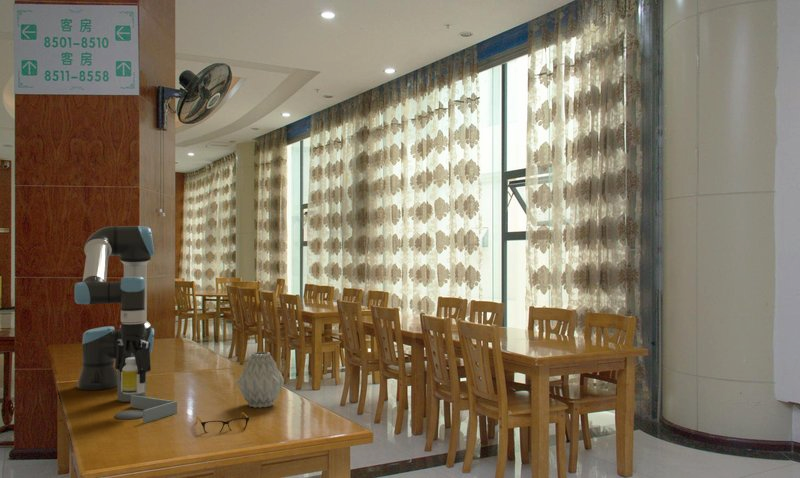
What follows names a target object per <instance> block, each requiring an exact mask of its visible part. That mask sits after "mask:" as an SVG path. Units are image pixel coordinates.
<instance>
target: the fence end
mask: <svg viewBox="0 0 800 478" xmlns="http://www.w3.org/2000/svg"><path fill="white" fill-rule="evenodd" d="M142 410H143V418H142V423H143V424H147V423H150V422H154V421H156V420H159V419H163V418H166V417H169V416H173V415H176V414H178V401H177V400H176V401H175V400H174V401H173V402H170V403H167V404H163V405H160V406H157V407H153V408H150V409H142Z"/></svg>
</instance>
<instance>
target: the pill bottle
mask: <svg viewBox="0 0 800 478" xmlns="http://www.w3.org/2000/svg"><path fill="white" fill-rule="evenodd" d="M125 363H126V365H125V366H124V367H123V369H122V392H123V393H124V394H129V395H132V394H137V373H138V368H137V364H136V360H135V357H129V358H126V359H125Z"/></svg>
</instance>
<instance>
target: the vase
mask: <svg viewBox="0 0 800 478" xmlns="http://www.w3.org/2000/svg"><path fill="white" fill-rule="evenodd" d="M278 368H279V367H278V365H277V362H276V361H275V359H274V358H273V356H272V355H271V352H269V351H256V352H252V353H251V356H250V357H249V358H248V361H247V362H246V363H245V366H244V369H243V372H242V373H241V374H240V375H239V378H238V380H237V386H238V388H239V390H240V392H241V395H242V397H243V399H244V401H245V402H247V406H249V407H251V408H254V409H255V408H259V409H261V408H267V407H269V408H270V407H272V406H273V405H274V404H275V401H276V399H277V398H278V397H279V395H280V393H281V390H282V387H283V385H284V384H285V380H284V377H283V374H282V373H281V371H280V370H279V369H278Z"/></svg>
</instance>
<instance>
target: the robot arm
mask: <svg viewBox="0 0 800 478" xmlns="http://www.w3.org/2000/svg"><path fill="white" fill-rule="evenodd" d="M83 250H84V255H85V262H84V263H85V264H84V270H83V276H82V281H81V282H76V283H75V284H74V302H75V303H76V304H77V305H87V306H88V305H97V304H98V305H99V304H100V305H101V304H120V322H121V324H120V325H119V329H115V326H110V325H108V326H102V327H101V326H100V327H95V328H91V329H87V330H86V331H84V332H83V334H82V342H81V345H82V368H81V371H80V374H79V378H78V381H77V389H78V390H83V391H97V390H98V391H99V390H107V389H111V388H115V387H118V370H119V371H120V380H121V392H122V369H123V367H124V366H125V365H126V363H125V359H126V358H129V357H131V353H133V354H134V356H135V360H136V364H137V368H138V373H137V394H140V393H143V392H145V382H146V383H147V373H148V372H151V369H152V368H151V354H152V351H153V346H154V339H155V338H154V337H155V329H154V327H152V325H151V323H150V322H149V321H148V320H147V319H148V318H147V317H148V316H147V313H148V309H147V308H148V307H147V304H148V303H147V301H148V296H147V294H148V293H147V292H148V291H147V289H148V285H147V284H148V281H147V279H148V277H147V276H148V273H147V272H148V270H147V268H148V265H147V264H148V263H149V262H151V260H152V258H151V257H153V256H155V248H154V240H153V232H152V229H151V228H150V227H149V226H143V225H122V226H121V225H117V226H115V225H110V226H105V227H102V228H99V229H98V230H95V232H93V233H92V234H91V235H89V237H88V238H87V240H86V242H85V244H84V248H83ZM110 256H114V257H116V256H119V261H120V262H121V263H122V264H123V277H121V279H120V281H118V280H117V281H107V277H108V266H109V265H108V264H109V258H110ZM145 328H146V331H147V336H145V341H144V339H143V334H144V333H145ZM122 335H123V338H122ZM146 341H147V342H146ZM119 364H120V365H119Z"/></svg>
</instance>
